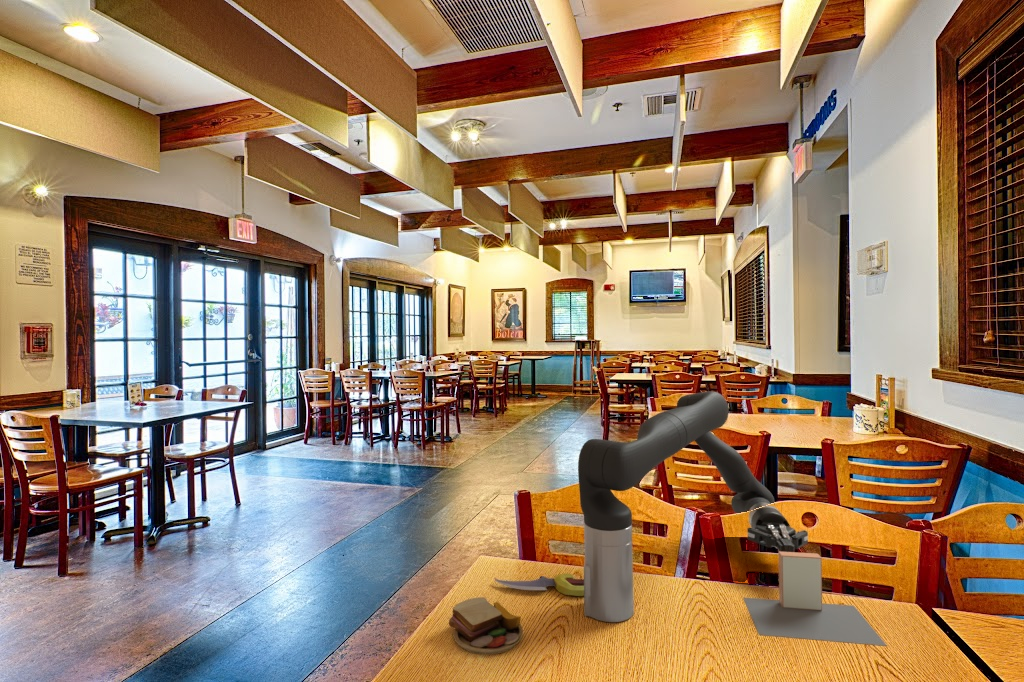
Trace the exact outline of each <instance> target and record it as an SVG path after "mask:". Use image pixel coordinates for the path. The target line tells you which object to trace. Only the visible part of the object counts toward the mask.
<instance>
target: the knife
mask: <svg viewBox="0 0 1024 682" xmlns="http://www.w3.org/2000/svg"><path fill="white" fill-rule="evenodd" d="M494 581H495V582H497V583H499V584H501V585H503V586H506V587H508V588H511V589H518V590H522V591H523V590H524V591H548V589H547V587H551V586H552V587H553V586H554V588H555V589H556V591H557V592H558V593H560V594H563V595H565V596H573V597H584V578H582V579H581V578H579V579H578V578H576V577H575V576H574V575H573V574H572V573H566V572H565V573H560V574H557V575H556V576H553V578H548V577H546V576H543V575H541V576H539V578H538V579H537V578H536V579H533V580H502V579H501V580H500V579H497V578H496V577H495V578H494Z"/></svg>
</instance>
